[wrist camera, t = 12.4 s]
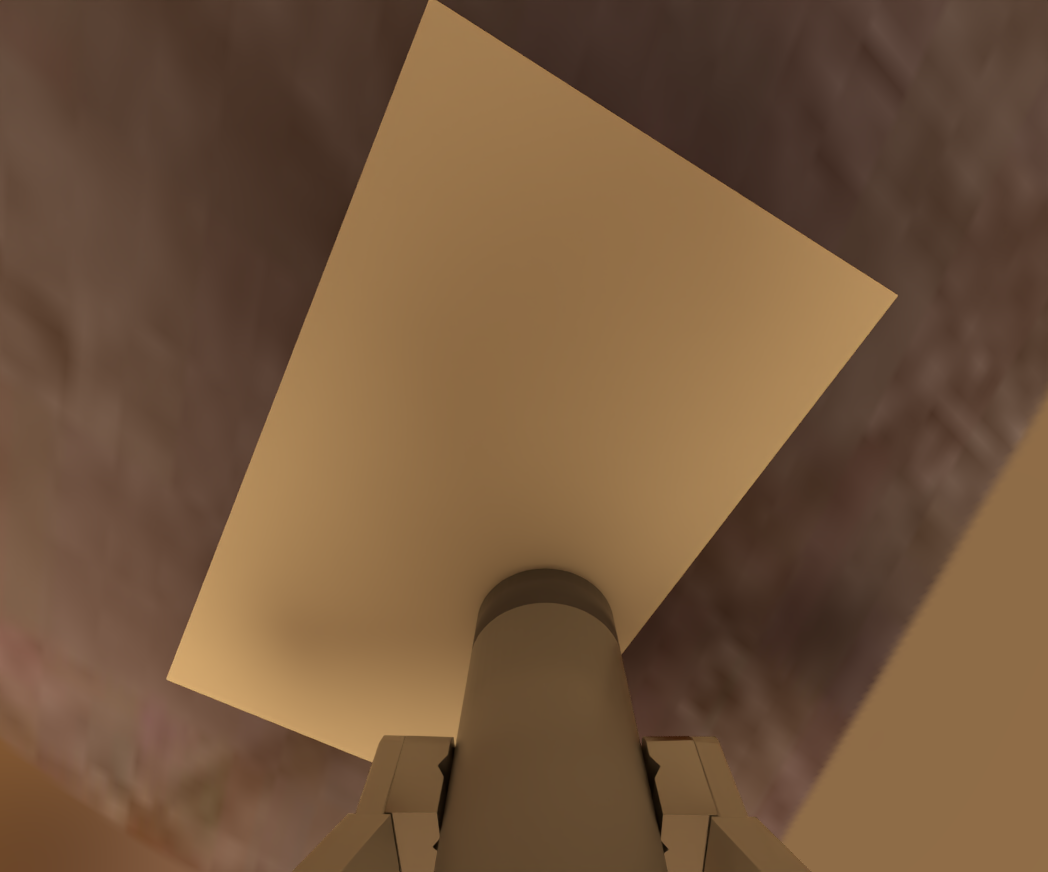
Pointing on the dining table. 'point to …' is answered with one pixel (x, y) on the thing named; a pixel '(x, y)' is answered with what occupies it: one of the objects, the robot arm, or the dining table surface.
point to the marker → (548, 740)
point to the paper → (505, 394)
